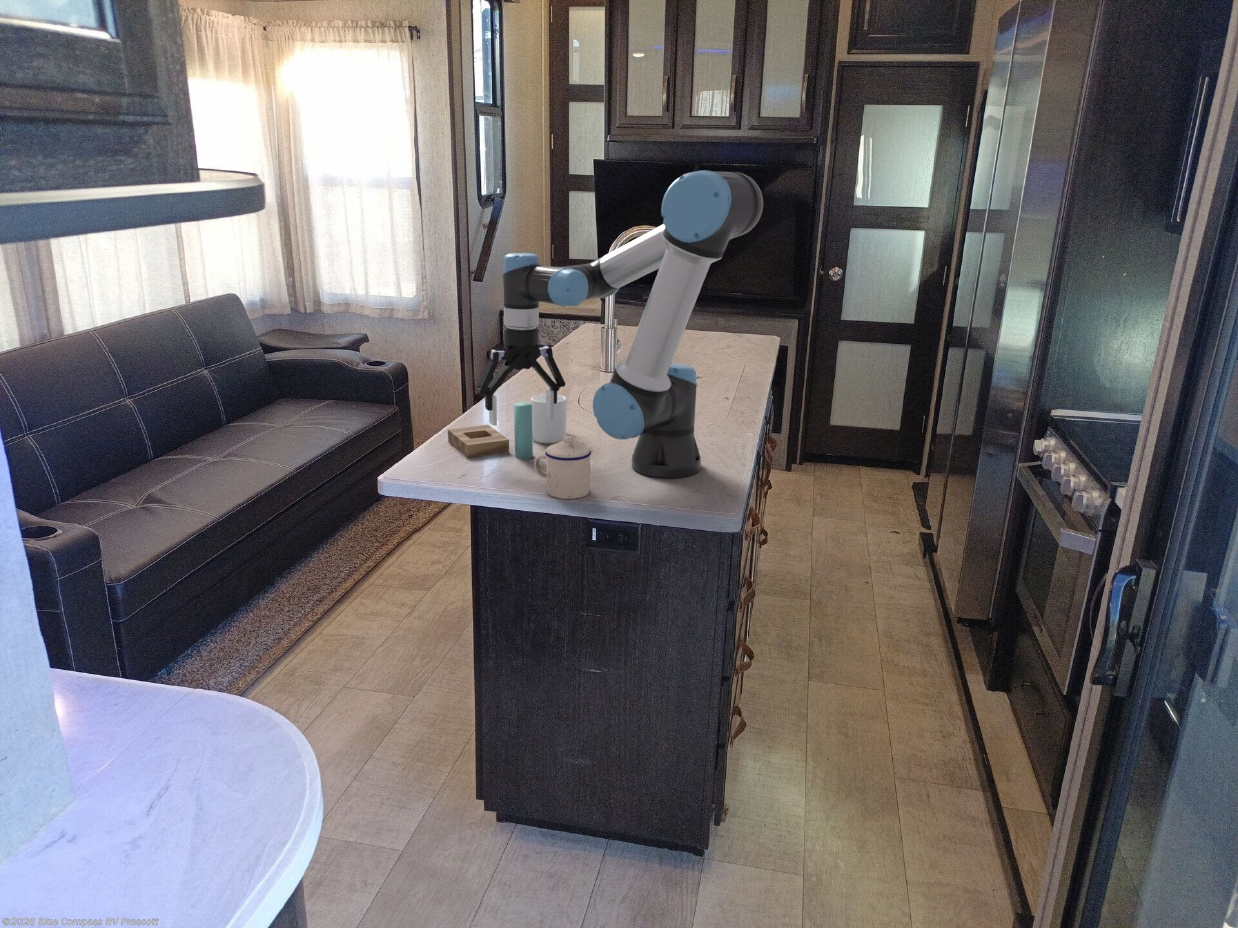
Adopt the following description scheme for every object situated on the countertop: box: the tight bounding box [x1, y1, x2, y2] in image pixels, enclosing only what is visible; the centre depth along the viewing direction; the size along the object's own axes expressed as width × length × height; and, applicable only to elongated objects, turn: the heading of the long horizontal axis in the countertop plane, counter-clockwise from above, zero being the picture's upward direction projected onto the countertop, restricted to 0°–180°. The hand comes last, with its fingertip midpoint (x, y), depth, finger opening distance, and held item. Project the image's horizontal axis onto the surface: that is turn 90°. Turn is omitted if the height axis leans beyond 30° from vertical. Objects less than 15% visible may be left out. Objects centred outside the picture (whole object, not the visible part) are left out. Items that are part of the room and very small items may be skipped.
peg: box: [513, 401, 534, 460], centre depth 197 cm, size 4×4×12 cm
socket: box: [447, 424, 510, 459], centre depth 204 cm, size 14×10×3 cm
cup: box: [530, 393, 567, 445], centre depth 212 cm, size 8×12×10 cm
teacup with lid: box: [533, 435, 592, 500], centre depth 175 cm, size 12×9×12 cm
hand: (521, 420), depth 196 cm, fingers open, 13 cm apart
